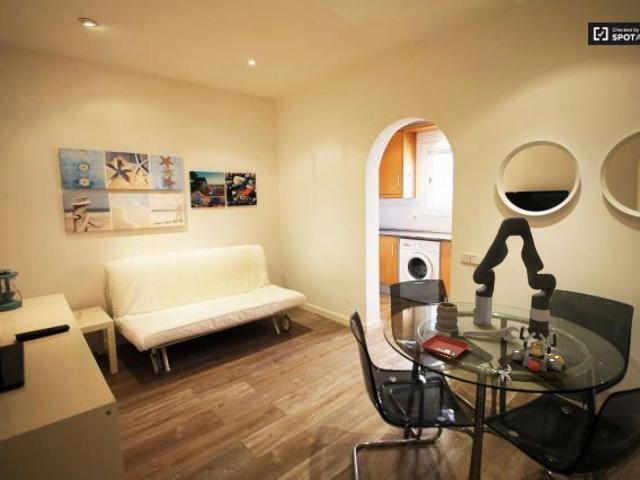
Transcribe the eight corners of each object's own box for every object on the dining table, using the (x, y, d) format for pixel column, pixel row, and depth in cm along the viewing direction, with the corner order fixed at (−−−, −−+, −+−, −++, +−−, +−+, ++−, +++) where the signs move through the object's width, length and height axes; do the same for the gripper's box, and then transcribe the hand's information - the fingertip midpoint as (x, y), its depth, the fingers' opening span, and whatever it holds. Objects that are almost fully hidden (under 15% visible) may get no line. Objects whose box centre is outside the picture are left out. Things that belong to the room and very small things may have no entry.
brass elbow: (543, 358, 165) (546, 364, 160) (543, 351, 164) (547, 357, 159) (560, 360, 163) (564, 366, 157) (560, 353, 162) (564, 359, 157)
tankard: (458, 333, 195) (459, 307, 193) (434, 331, 199) (435, 305, 197) (457, 320, 214) (458, 296, 211) (435, 318, 218) (435, 295, 215)
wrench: (458, 339, 194) (519, 340, 184) (458, 341, 192) (520, 341, 182) (457, 325, 193) (518, 325, 183) (457, 327, 191) (519, 326, 181)
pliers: (509, 362, 159) (519, 380, 145) (508, 366, 160) (519, 383, 145) (485, 360, 162) (493, 377, 147) (485, 363, 162) (493, 381, 147)
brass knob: (528, 361, 159) (530, 344, 158) (530, 357, 163) (531, 340, 162) (541, 364, 156) (542, 347, 155) (542, 360, 160) (544, 343, 158)
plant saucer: (470, 349, 176) (470, 343, 176) (455, 362, 163) (455, 356, 163) (436, 339, 189) (436, 333, 188) (419, 350, 176) (420, 344, 176)
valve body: (508, 366, 159) (509, 355, 158) (514, 355, 169) (514, 345, 168) (559, 379, 147) (560, 368, 146) (561, 366, 157) (562, 356, 156)
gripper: (519, 316, 158) (517, 350, 160) (557, 323, 149) (554, 359, 151) (522, 311, 164) (520, 344, 166) (559, 318, 155) (556, 352, 157)
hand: (536, 351), depth 159 cm, fingers open, 8 cm apart
